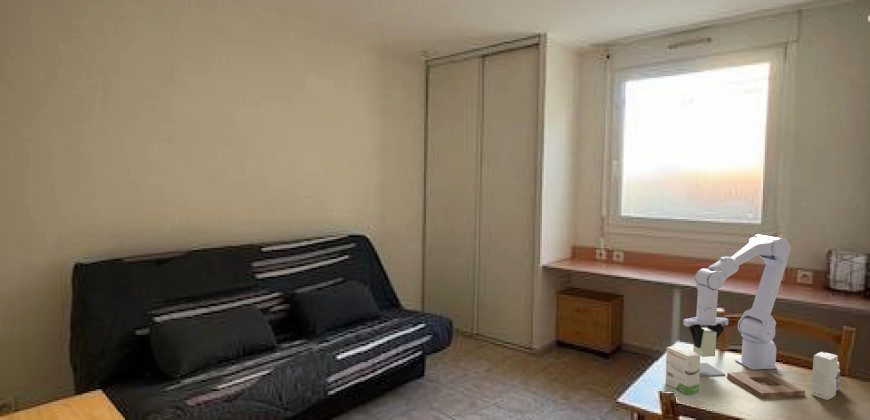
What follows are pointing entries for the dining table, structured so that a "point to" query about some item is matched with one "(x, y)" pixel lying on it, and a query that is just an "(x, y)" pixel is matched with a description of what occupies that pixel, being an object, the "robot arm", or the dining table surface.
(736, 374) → the pocket block
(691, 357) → the ink box
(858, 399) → the dining table surface
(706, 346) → the sage block
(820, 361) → the skincare box
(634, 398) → the dining table surface
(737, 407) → the dining table surface
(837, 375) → the pill bottle
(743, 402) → the dining table surface
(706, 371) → the rubber pad
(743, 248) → the robot arm
